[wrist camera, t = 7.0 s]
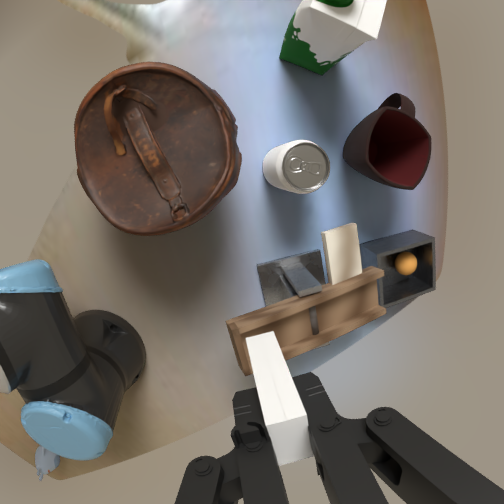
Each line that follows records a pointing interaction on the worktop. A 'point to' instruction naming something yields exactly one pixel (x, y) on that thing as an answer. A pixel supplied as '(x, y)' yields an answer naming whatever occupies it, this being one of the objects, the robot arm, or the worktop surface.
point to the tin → (393, 283)
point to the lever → (316, 304)
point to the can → (297, 166)
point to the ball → (405, 263)
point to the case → (155, 148)
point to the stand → (292, 277)
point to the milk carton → (330, 31)
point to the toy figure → (45, 461)
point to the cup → (390, 145)
